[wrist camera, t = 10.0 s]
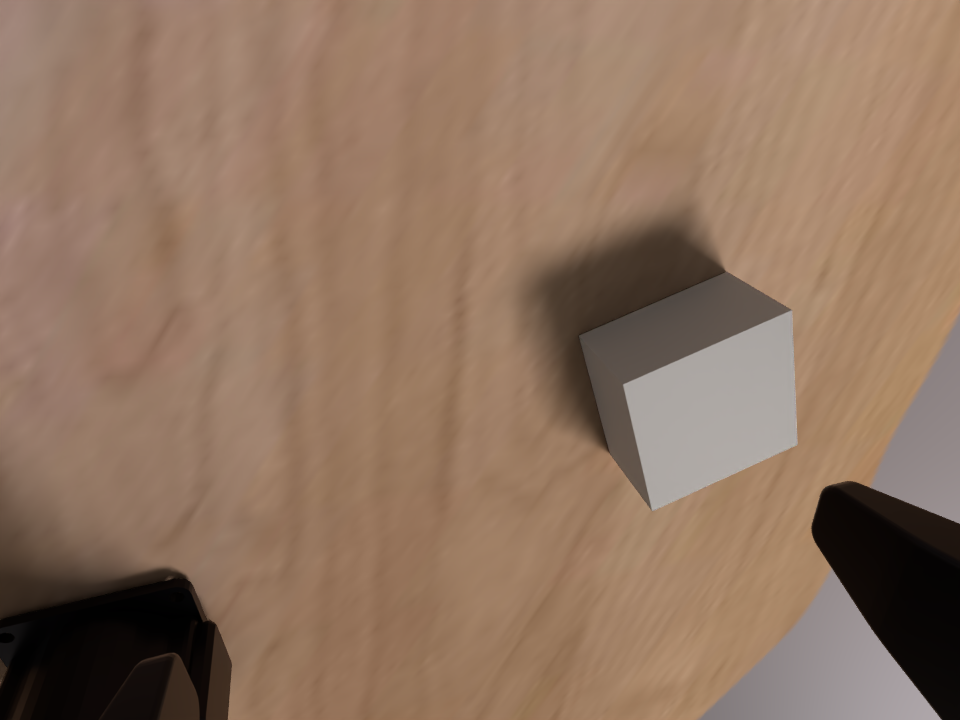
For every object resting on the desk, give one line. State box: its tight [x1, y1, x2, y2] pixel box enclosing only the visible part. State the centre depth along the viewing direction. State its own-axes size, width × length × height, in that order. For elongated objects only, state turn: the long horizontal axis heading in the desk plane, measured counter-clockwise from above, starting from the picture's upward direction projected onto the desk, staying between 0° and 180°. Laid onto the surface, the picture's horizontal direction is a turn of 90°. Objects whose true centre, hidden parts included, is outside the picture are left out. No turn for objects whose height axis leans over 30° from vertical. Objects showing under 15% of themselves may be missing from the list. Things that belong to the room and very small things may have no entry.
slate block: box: [579, 272, 797, 511], centre depth 23 cm, size 6×6×4 cm
